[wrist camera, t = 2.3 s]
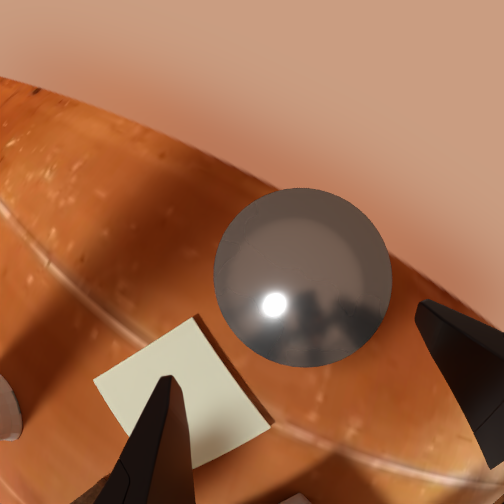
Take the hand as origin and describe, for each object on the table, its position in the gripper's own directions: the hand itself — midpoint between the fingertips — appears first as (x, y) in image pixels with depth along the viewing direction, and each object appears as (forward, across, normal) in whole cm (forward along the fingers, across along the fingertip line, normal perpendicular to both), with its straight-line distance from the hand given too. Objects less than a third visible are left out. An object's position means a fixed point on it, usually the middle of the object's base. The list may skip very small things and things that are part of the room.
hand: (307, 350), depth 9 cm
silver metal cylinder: (+8, 0, +5) cm, 10 cm away
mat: (+5, +8, +9) cm, 13 cm away
